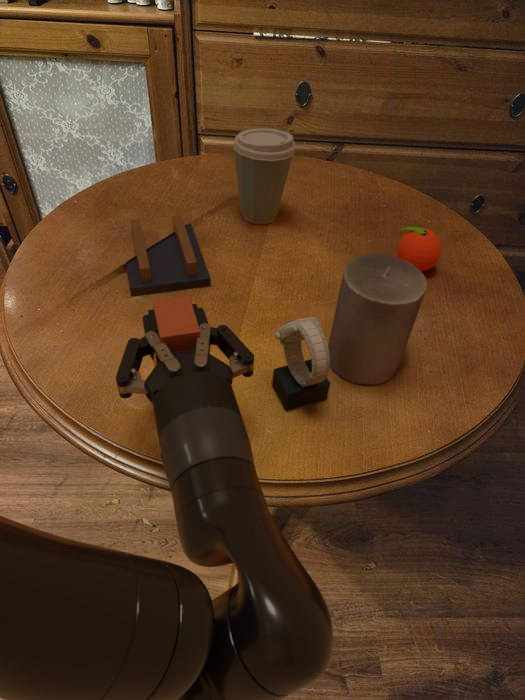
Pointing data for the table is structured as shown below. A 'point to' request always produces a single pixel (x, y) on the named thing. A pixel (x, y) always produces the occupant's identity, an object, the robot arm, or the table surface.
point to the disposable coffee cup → (262, 171)
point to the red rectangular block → (176, 323)
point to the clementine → (420, 248)
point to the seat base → (167, 261)
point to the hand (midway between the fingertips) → (172, 313)
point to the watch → (302, 365)
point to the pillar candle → (374, 317)
